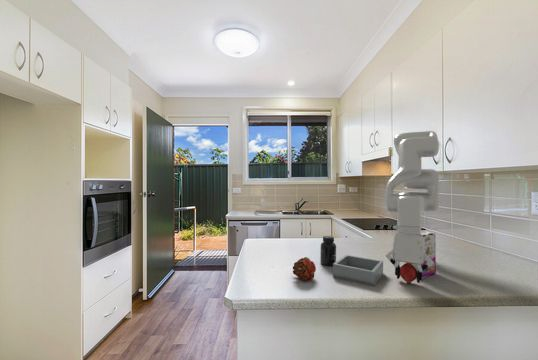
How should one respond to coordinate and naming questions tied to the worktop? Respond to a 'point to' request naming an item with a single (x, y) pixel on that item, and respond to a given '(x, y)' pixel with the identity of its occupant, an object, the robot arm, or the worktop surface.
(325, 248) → the supplement bottle
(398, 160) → the robot arm
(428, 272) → the candy bar box
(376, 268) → the bin
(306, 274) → the dragon fruit
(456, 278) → the worktop surface
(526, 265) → the worktop surface
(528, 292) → the worktop surface
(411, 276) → the pomegranate
